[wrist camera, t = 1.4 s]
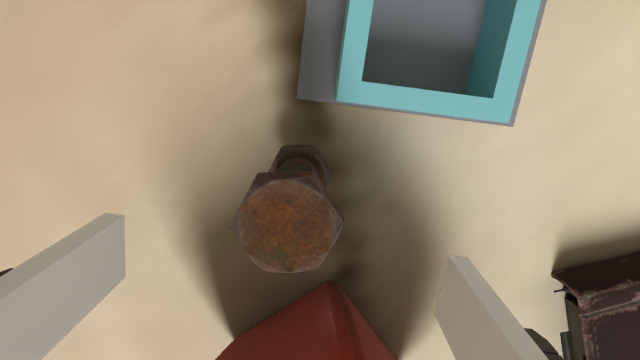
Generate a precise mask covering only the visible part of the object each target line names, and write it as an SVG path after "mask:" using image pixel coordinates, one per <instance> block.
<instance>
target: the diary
mask: <svg viewBox="0 0 640 360" xmlns="http://www.w3.org/2000/svg"><path fill="white" fill-rule="evenodd" d="M551 276H552V277H553V278H555V279H557V280H559V281H560V282H561V283H562V284H564V285H565V286H566V287H563V289H560V290H556V291H554V293H555V292H559V291H563V290H564V291H565V292H568V293H571V294H572V295H573V296H571V297H567V298H565V305H566V313H567V320H568V327H569V331H567V332H561V333H560V336H561V343H562V351H563V359H564V360H640V251H639V252H636V253H632V254H628V255H625V256H621V257H617V258H613V259H608V260H603V261H599V262H595V263H590V264H586V265H581V266H577V267H572V268H568V269H563V270H559V271H555V272H552V273H551Z"/></svg>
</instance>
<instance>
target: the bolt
mask: <svg viewBox="0 0 640 360" xmlns="http://www.w3.org/2000/svg"><path fill="white" fill-rule="evenodd" d="M330 177H331V171H330V170H329V168H328V166H327V164H326V163H325V161H324V159H323V158H322V156H321V155H320V153H319V152H318V150H317V149H316V148H315V146H314V145H292V146H282V147H281V149H280V151H279V153H278V154H277V156H276V158H275V160H274V162H273V164H272V166H271V168H270V170H269V172H266V173H258V174H257V176H256V177H255V179H254V181H253V183H252V185H251V186H250V188H249V190H248V192H247V194H246V196H245V198H244V200H243V202H242V204H241V206H240V208H239V210H238V212H237V214H236V216H235V218H234V220H233V222H232V225H231V229H232V231H233V233H234V235H235V237H236V238H237V240H238V242H239V243H240V245H241V246H242V248H243V249H244V251H245V252H246V253H247V255H248V256H249V257H250V258H251V260H252V261H253V262H254V263H255V264H256V265H258V266H259V267H260V268H261V269H262V270H265V271H270V272H278V273H297V272H304V271H309V270H313V269H317V268H318V267H319V266H320V265H321V263H322V262H323V261H324V259H325V258H326V256H327V254H328V253H329V251H330V250H331V248H332V246H333V245H334V243H335V241H336V239H337V237H338V235H339V233H340V231H341V229H342V227H343V225H344V218H343V214H342V213H341V211H340V210H339V208H338V207H337V205H336V204H335V202H334V201H333V199H332V198H331V196H330V194H329V193H328V191H327V190H326V188H325V187H326V185H327V183H328V181H329V179H330Z"/></svg>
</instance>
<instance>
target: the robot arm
mask: <svg viewBox="0 0 640 360" xmlns="http://www.w3.org/2000/svg"><path fill="white" fill-rule="evenodd" d="M124 278H125V218H124V215H117V214H109V213H105V214H103V215H101V216H100V217H98V218H96V219H95V220H93V221H91V222H90V223H88V224H86V225H85V226H83V227H81V228H80V229H78V230H77V231H75V232H73V233H72V234H70V235H68V236H67V237H65V238H63V239H62V240H60V241H58V242H57V243H55V244H54V245H52V246H50V247H49V248H47V249H45V250H44V251H42V252H40V253H39V254H37V255H35V256H34V257H32V258H31V259H29V260H27V261H26V262H24V263H22V264H21V265H19V266H17V267H16V268H14V269H13V268H10V269H7V270H5V271H2V272H0V360H42V359H43V358H44V357H45V356H46V355H47V354H48V353H49V352H50V351H51V350H52V349H53V348H54V347H55V346H56V345H57V344H58V343H59V342H60V341H61V340H62V339H63V338H64V337H65V336H66V335H67V334H68V333H69V332H70V331H71V330H72V329H73V328H74V327H75V326H76V325H77V324H78V323H79V322H80V321H81V320H82V319H83V318H84V317H85V316H86V315H87V314H88V313H89V312H90V311H91V310H92V309H93V308H94V307H95V306H96V305H97V304H98V303H99V302H100V301H101V300H102V299H103V298H104V297H105V296H106V295H107V294H108V293H109V292H110V291H111V290H113V289H114V288H115V287H116V286H117V285H118V284H119V283H120V282H121V281H122V280H123V279H124ZM435 316H436V318H437V320H438V322H439V324H440V327H441V329H442V331H443V333H444V335H445V337H446V339H447V342H448V344H449V346H450V348H451V350H452V352H453V354H454V357H455V359H456V360H564V359H563V358H562V357H561V356H559V355H558V352H557V351H556V350H555V349H554V348H553V346H552V345H551V344H550V343H549V342H548V341H547V340H546V339H545V338H543V337H542V336H541V335H539V334H538V333H537V332H535V331H534V330H533V329H527V328H523V327H522V326H521V324H520V323H519V322H518V321H517V319H516V318H515V317H514V316H513V314H512V313H511V312H510V311H509V309H508V308H507V307H506V306H505V304H504V303H503V302H502V301H501V299H500V298H499V297H498V296H497V294H496V293H495V292H494V291H493V289H492V288H491V287H490V286H489V284H488V283H487V282H486V281H485V279H484V278H483V277H482V276H481V274H480V273H479V272H478V270H477V269H476V268H475V267H474V265H473V264H472V263H471V262H470V260H469V259H468V258H467V257H459V256H451V255H448V260H447V264H446V268H445V272H444V276H443V280H442V284H441V289H440V293H439V297H438V301H437V305H436V309H435Z"/></svg>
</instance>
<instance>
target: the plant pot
mask: <svg viewBox="0 0 640 360" xmlns="http://www.w3.org/2000/svg"><path fill="white" fill-rule="evenodd" d="M215 360H397V359H396V358H395V357H394V355H393V354H392V353H391V352H390V350H389V349H388V348H387V346H386V345H385V344H384V343H383V341H382V340H381V339H380V337H379V336H378V335H377V334H376V332H375V331H374V330H373V328H372V327H371V326H370V325H369V323H368V322H367V321H366V319H365V318H364V317H363V316H362V314H361V313H360V312H359V310H358V309H357V308H356V307H355V305H354V304H353V303H352V301H351V300H350V299H349V298H348V296H347V295H346V294H345V293H344V291H343V290H342V289H341V287H340V286H339V285H338V284H336V283H334V282H326V283H323V284H321V285H320V286H318V287H317V288H315V289H314V290H312V291H310V292H309V293H307V294H305V295H304V296H302V297H301V298H299V299H297V300H296V301H294V302H293V303H291V304H289V305H288V306H286V307H285V308H283V309H281V310H280V311H278V312H277V313H275V314H273V315H272V316H270V317H269V318H267V319H265V320H264V321H262V322H261V323H259V324H257V325H256V326H254V327H253V328H251V329H250V330H248V331H246V332H245V333H243V334H241V335H240V336H238V337H237V338H236V339H235V340H234V341H233V342H231V344H230V345H229V346H228V347H227V348H226V349H225V350H224V351H223V352H222V353H221V354H220V355H219V356H218V357H217V358H216V359H215Z"/></svg>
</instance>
